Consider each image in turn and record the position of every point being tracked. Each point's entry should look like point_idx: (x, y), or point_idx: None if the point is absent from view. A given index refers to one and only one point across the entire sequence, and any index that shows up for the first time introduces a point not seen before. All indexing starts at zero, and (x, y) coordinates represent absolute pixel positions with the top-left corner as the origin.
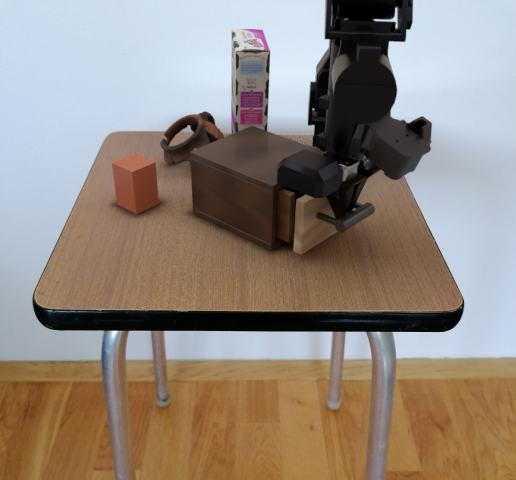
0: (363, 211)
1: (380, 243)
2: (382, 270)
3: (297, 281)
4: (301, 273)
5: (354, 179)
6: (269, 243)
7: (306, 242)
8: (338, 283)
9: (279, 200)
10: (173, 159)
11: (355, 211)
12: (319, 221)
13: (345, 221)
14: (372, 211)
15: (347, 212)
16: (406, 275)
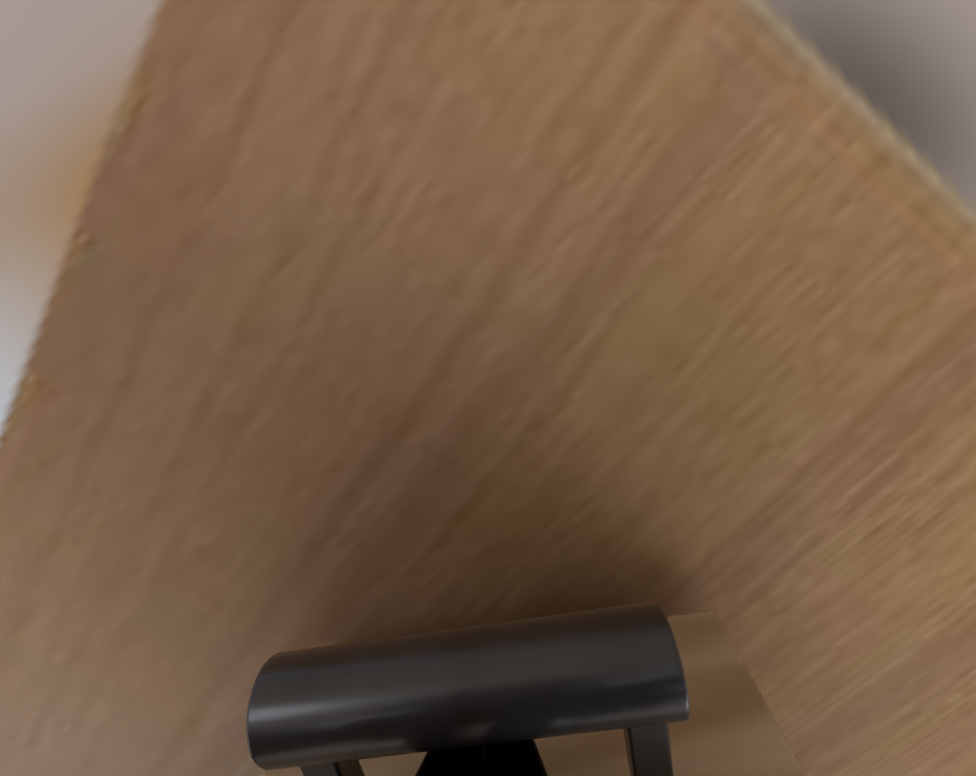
0: (388, 704)
1: (280, 487)
2: (442, 309)
3: (842, 482)
4: (774, 516)
5: None
6: None
7: (697, 658)
8: (714, 358)
9: None
10: None
11: (461, 735)
12: (610, 757)
13: (652, 681)
14: (288, 670)
15: (504, 753)
16: (365, 190)
